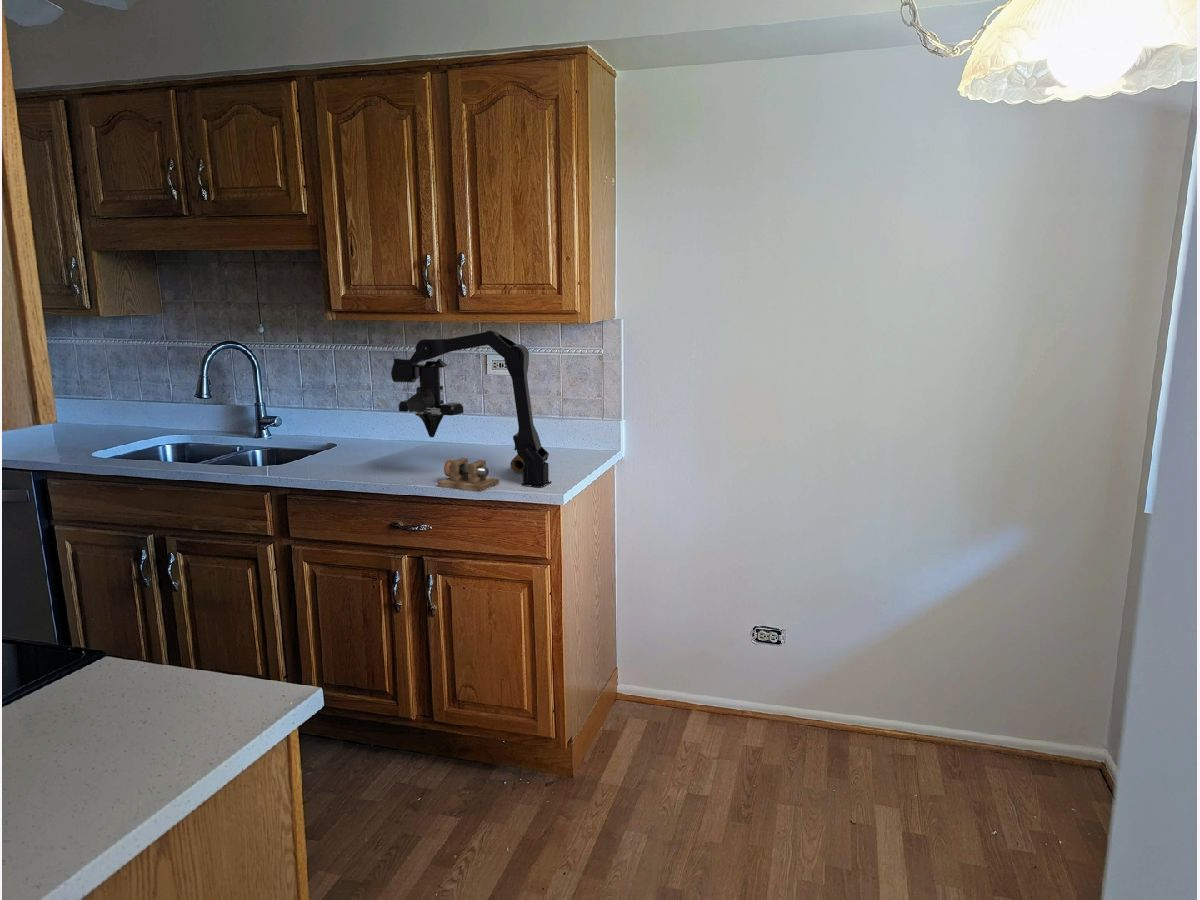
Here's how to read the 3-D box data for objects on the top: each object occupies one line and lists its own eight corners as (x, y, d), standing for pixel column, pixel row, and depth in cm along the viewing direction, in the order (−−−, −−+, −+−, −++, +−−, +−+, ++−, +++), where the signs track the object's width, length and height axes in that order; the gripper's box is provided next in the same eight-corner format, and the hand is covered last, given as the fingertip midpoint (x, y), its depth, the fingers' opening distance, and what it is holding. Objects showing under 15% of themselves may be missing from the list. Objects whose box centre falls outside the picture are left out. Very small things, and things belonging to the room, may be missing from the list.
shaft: (491, 478, 242) (490, 461, 242) (481, 482, 238) (481, 464, 237) (454, 474, 248) (453, 457, 247) (444, 478, 243) (443, 460, 242)
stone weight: (525, 464, 271) (525, 443, 270) (546, 465, 269) (546, 444, 268) (508, 474, 257) (508, 452, 256) (530, 476, 255) (530, 454, 254)
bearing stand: (499, 484, 245) (498, 460, 243) (480, 491, 236) (479, 467, 234) (457, 479, 250) (457, 455, 249) (437, 486, 242) (437, 462, 240)
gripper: (385, 384, 239) (387, 439, 242) (440, 388, 231) (442, 444, 234) (409, 380, 249) (411, 432, 252) (463, 383, 241) (465, 438, 244)
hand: (431, 437), depth 245 cm, fingers closed
